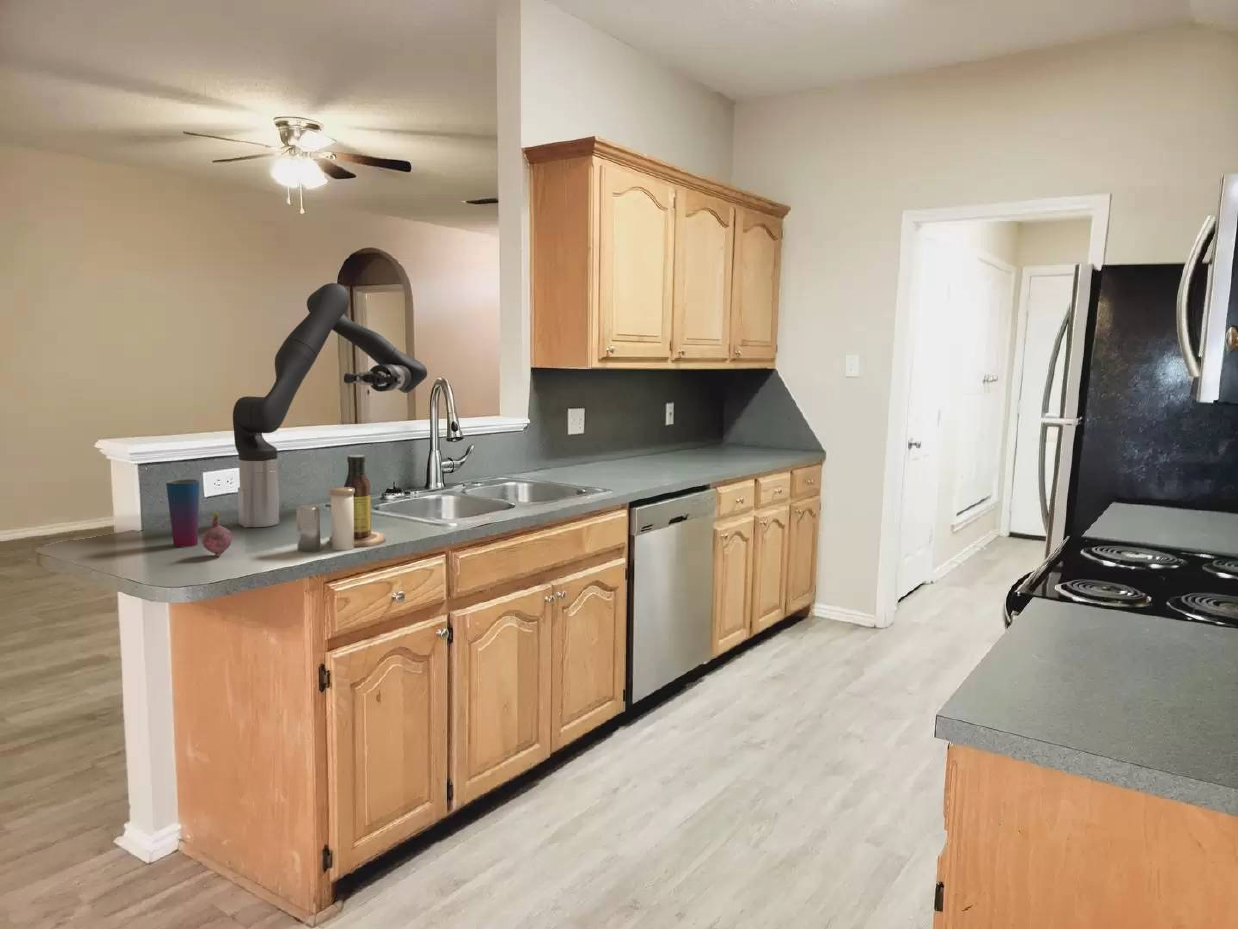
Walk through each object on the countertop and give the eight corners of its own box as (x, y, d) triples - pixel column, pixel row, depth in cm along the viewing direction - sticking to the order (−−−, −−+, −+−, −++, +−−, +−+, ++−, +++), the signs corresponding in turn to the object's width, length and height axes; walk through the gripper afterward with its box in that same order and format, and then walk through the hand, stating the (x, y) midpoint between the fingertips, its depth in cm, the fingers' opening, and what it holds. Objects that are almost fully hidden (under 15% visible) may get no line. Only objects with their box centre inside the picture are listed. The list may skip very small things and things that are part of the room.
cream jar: (334, 552, 192) (333, 491, 190) (327, 547, 196) (326, 488, 194) (359, 549, 195) (358, 489, 193) (351, 544, 199) (349, 486, 197)
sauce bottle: (347, 533, 206) (346, 453, 203) (373, 533, 206) (372, 453, 204) (341, 539, 199) (339, 456, 197) (368, 539, 200) (366, 457, 197)
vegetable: (199, 560, 182) (197, 514, 180) (206, 553, 188) (204, 509, 186) (229, 559, 183) (227, 514, 182) (235, 552, 189) (233, 508, 188)
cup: (179, 549, 190) (176, 484, 188) (163, 545, 194) (159, 481, 192) (208, 544, 196) (205, 480, 194) (191, 540, 200) (188, 477, 197)
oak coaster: (339, 549, 194) (339, 545, 194) (322, 538, 204) (322, 534, 204) (393, 543, 201) (393, 538, 201) (374, 533, 212) (374, 528, 212)
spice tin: (301, 553, 189) (300, 510, 188) (294, 549, 193) (293, 506, 192) (323, 551, 192) (322, 508, 191) (316, 546, 196) (315, 504, 195)
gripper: (363, 363, 239) (335, 364, 223) (410, 365, 236) (386, 366, 220) (363, 390, 240) (336, 392, 224) (410, 391, 237) (386, 394, 222)
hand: (360, 379), depth 222 cm, fingers open, 8 cm apart
